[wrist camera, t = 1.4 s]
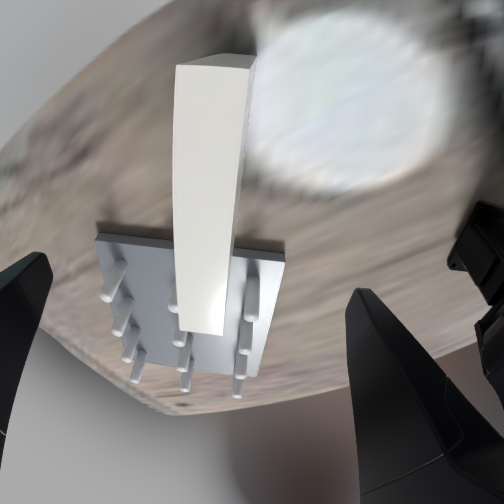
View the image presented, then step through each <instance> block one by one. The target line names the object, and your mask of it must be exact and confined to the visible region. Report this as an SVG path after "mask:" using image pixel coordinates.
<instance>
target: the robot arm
mask: <svg viewBox="0 0 504 504" xmlns="http://www.w3.org/2000/svg"><path fill="white" fill-rule="evenodd" d="M481 207H482V208H481ZM480 208H481V209H480ZM447 266H448V267H449V269H451V270H457V271H465V272H468V274H469V275H470V277H471V279H472V280H473V282H474V284H475V285H476V286H477V287H478V288H479V290H480V292H481V293H482V295H483V297H484V299H485V300H486V302H487V304H488V305H489V306H491V307H492V308H491V309H490V310H489V311H488V312H487V313H486V314H485V315H484V317H483V318H482V319H481V320H478V322H477V323H476V324H475V325H474V327H475V331H476V336H477V341H478V346H479V351H480V357H481V363H482V368H483V373H484V375H485V377H486V378H487V380H488V381H489V383H490V384H491V385H492V386H493V388H494V389H495V391H496V393H497V395H498V397H499V399H500V401H501V404H502V406H503V409H504V208H503V207H500V206H497V205H494V204H491V203H488V202H485V201H479V202H478V203H477V204H476V206H475V208H474V210H473V212H472V215H471V217H470V219H469V221H468V223H467V225H466V227H465V229H464V231H463V233H462V235H461V237H460V239H459V241H458V243H457V245H456V247H455V249H454V251H453V253H452V255H451V256H450V258H449V260H448V262H447ZM52 281H53V272H52V269H51V267H50V264H49V261H48V258H47V256H46V254H45V253H42V252H32V253H30V254H29V255H27V256H25V257H24V258H22V259H21V260H19V261H17V262H16V263H14V264H13V265H11V266H9V267H8V268H6V269H5V270H3V271H2V272H0V468H1V461H2V455H3V449H4V443H5V438H6V433H7V428H8V423H9V419H10V415H11V411H12V406H13V403H14V399H15V395H16V392H17V388H18V385H19V381H20V378H21V375H22V371H23V368H24V365H25V362H26V359H27V356H28V353H29V350H30V347H31V344H32V341H33V339H34V336H35V333H36V331H37V328H38V326H39V323H40V320H41V316H42V313H43V310H44V306H45V303H46V300H47V297H48V294H49V290H50V287H51V284H52ZM345 321H346V346H347V366H348V374H349V382H350V389H351V398H352V406H353V415H354V424H355V434H356V444H357V457H358V469H359V485H360V494H361V495H360V504H504V438H503V437H502V436H500V434H499V433H498V432H497V431H496V430H495V429H494V428H493V427H492V426H491V425H490V423H489V422H488V421H487V420H486V419H485V418H484V417H483V416H482V415H481V414H480V413H479V412H478V411H477V410H476V408H475V407H474V406H473V405H472V404H471V403H470V402H469V401H468V400H467V399H466V397H465V396H464V395H463V394H462V393H461V392H460V390H459V389H458V388H457V387H456V386H455V384H454V383H453V382H452V381H451V380H450V379H449V377H446V374H445V373H444V371H443V370H442V369H441V368H440V367H439V365H438V364H437V363H436V362H435V361H434V359H433V358H432V357H431V356H430V355H429V354H428V352H427V351H426V350H425V349H424V348H423V347H422V346H421V344H420V343H419V342H418V341H417V340H416V339H415V338H414V336H413V335H412V334H411V333H410V332H409V331H408V330H407V328H406V327H405V326H404V325H403V324H402V323H401V322H400V321H399V320H398V318H397V317H396V316H395V315H394V314H393V313H392V312H391V311H390V310H389V309H388V307H387V306H386V305H385V304H384V303H383V302H382V301H381V300H380V299H379V298H378V297H377V295H376V294H375V293H374V292H373V291H372V290H371V289H368V288H356V289H355V290H354V292H353V294H352V296H351V299H350V301H349V303H348V305H347V308H346V312H345Z"/></svg>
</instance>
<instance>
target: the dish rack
mask: <svg viewBox="0 0 504 504" xmlns="http://www.w3.org/2000/svg"><path fill="white" fill-rule="evenodd" d="M94 241H95V245H96V250H97V254H98V259H99V263H100V267H101V271H102V275H103V279H104V283H105V284H104V286H103V288H102V290H101V292H100V294H99V296H100V298H101V299H102V300H103V301H105V302H110V304H111V308H112V311H113V314H114V318H115V321H114V323H113V326H112V329H111V332H112V333H113V334H114V335H116V336H120V337H121V340H122V343H123V346H124V350H123V353H122V356H121V359H122V360H123V361H124V362H127V363H131V362H132V360H135V362H134V366H133V369H132V373H131V376H130V381H131V382H133V383H139V382H140V378H141V374H142V370H143V367H144V363H145V362H146V363H152V364H158V365H163V366H170V367H176V370H177V371H179V372H182V376H181V382H180V387H179V390H181V391H183V392H189V391H190V385H191V379H192V373H193V370H197V371H205V372H213V373H221V374H231V375H233V384H232V397H234V398H241V397H242V390H243V379H245V378H246V377H247V376H252V377H256V376H257V372H258V368H259V365H260V361H261V357H262V353H263V350H264V346H265V342H266V338H267V334H268V330H269V327H270V323H271V319H272V315H273V311H274V307H275V303H276V299H277V295H278V291H279V287H280V283H281V279H282V274H283V270H284V266H285V253H277V252H268V251H260V250H251V249H242V248H233V255H232V263H231V271H230V279H229V287H228V295H227V303H226V311H225V319H224V328H223V336H220V335H212V334H204V333H196V332H188V331H181V330H180V327H179V315H178V303H177V289H176V273H175V253H174V241H171V240H162V239H153V238H144V237H135V236H126V235H117V234H108V233H99V234H98V236H97V237H96V239H95V240H94Z"/></svg>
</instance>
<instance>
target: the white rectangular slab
mask: <svg viewBox="0 0 504 504" xmlns="http://www.w3.org/2000/svg"><path fill="white" fill-rule="evenodd" d="M256 60H257V56H253V55H243V54H231V53H221V54H217V55H212V56H208V57H204V58H200V59H196V60H192V61H188V62H185V63H181V64H178V65H176V77H175V95H174V119H173V228H174V253H175V273H176V289H177V303H178V315H179V327H180V330H181V331H188V332H196V333H204V334H212V335H220V336H223V328H224V319H225V311H226V303H227V295H228V287H229V279H230V271H231V263H232V255H233V248H234V240H235V232H236V225H237V218H238V210H239V201H240V192H241V183H242V174H243V166H244V157H245V148H246V140H247V132H248V123H249V115H250V107H251V99H252V91H253V83H254V76H255V68H256Z"/></svg>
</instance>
